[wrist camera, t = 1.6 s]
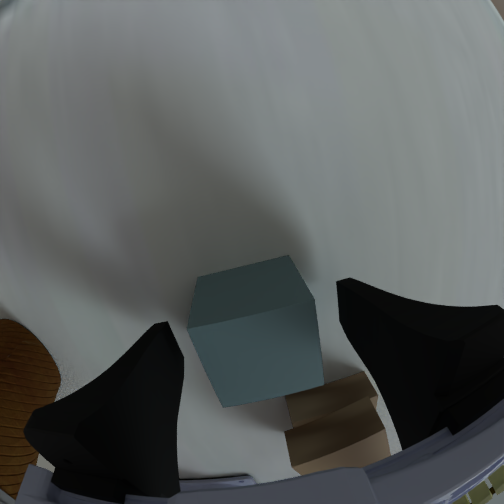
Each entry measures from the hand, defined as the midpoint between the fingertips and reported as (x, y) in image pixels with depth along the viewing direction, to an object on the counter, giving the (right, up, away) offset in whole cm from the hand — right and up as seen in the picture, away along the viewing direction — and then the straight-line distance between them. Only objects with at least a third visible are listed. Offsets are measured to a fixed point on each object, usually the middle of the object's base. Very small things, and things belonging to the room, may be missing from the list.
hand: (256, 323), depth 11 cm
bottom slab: (+5, -7, +5) cm, 10 cm away
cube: (0, 0, +1) cm, 2 cm away
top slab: (+5, -8, +2) cm, 10 cm away
